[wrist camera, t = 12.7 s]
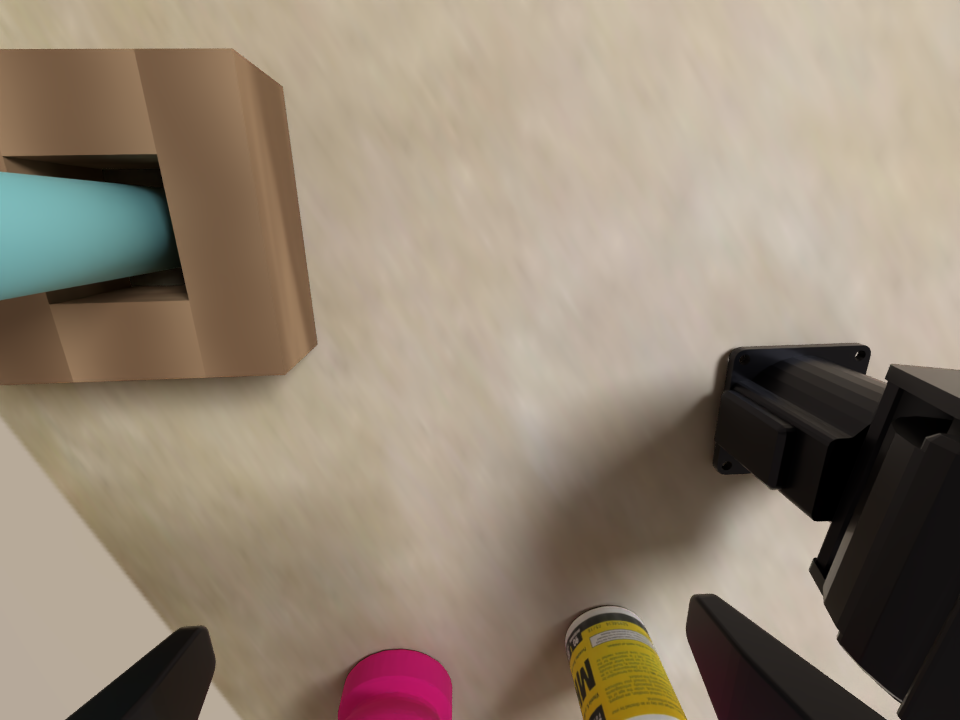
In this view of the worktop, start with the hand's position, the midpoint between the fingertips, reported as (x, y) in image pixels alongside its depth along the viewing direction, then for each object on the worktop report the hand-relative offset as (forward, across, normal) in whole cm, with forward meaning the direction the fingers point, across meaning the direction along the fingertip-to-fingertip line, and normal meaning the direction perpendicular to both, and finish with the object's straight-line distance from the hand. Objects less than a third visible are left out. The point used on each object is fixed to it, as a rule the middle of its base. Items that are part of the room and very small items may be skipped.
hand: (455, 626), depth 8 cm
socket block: (+13, +11, -7) cm, 18 cm away
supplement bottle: (+13, -8, +16) cm, 22 cm away
